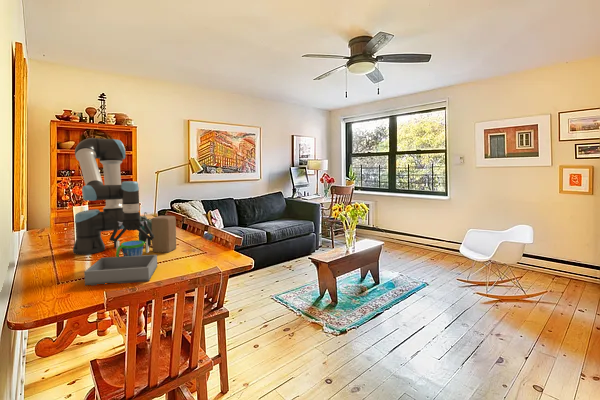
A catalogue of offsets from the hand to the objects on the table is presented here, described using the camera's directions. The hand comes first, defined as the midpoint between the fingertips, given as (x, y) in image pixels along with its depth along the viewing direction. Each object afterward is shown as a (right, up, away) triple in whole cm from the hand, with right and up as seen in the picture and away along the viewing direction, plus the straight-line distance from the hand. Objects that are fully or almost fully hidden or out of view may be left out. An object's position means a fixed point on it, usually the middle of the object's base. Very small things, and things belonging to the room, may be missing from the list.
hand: (133, 253), depth 157 cm
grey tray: (+6, -7, -18) cm, 20 cm away
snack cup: (0, -5, +1) cm, 5 cm away
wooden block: (+6, -3, +23) cm, 24 cm away
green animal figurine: (-11, -1, +38) cm, 40 cm away
